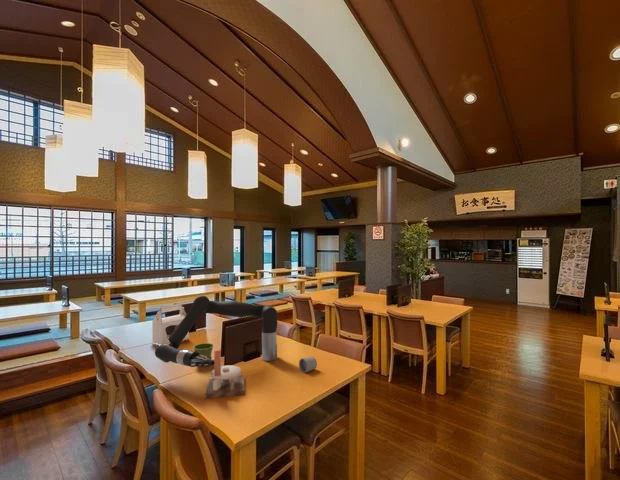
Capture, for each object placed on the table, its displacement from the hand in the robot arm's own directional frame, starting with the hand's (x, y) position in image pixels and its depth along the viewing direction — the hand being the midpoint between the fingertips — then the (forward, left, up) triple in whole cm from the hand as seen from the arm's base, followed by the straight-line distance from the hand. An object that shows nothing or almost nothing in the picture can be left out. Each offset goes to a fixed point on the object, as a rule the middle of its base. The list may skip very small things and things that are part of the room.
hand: (214, 362), depth 151 cm
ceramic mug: (-50, -16, -15) cm, 54 cm away
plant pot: (+10, -39, -15) cm, 43 cm away
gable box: (+40, -93, -15) cm, 103 cm away
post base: (-5, -3, -14) cm, 16 cm away
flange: (-5, -3, -11) cm, 13 cm away
